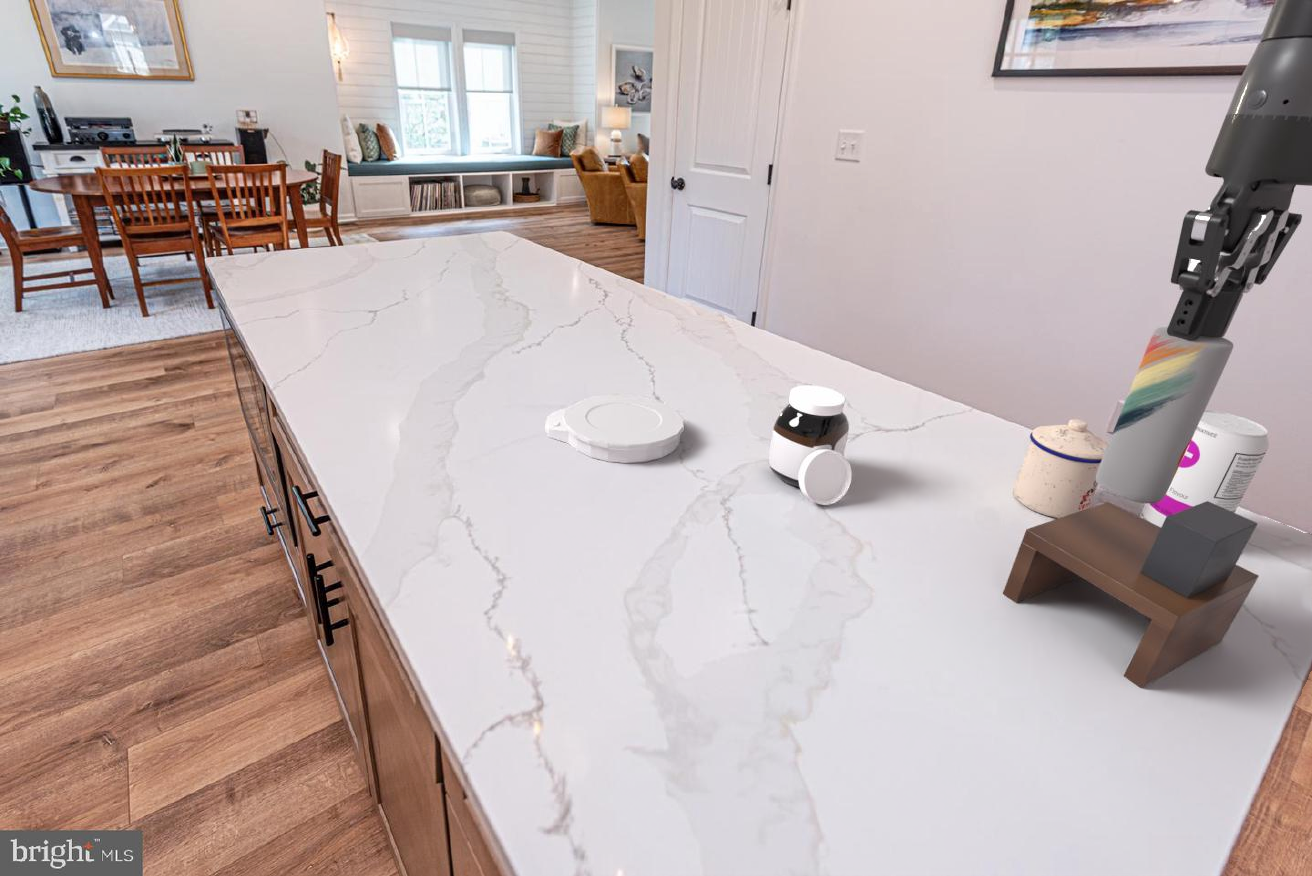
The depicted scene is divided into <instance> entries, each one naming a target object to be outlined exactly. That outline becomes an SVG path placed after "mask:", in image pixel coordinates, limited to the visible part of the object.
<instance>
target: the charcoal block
mask: <svg viewBox="0 0 1312 876" xmlns="http://www.w3.org/2000/svg"><path fill="white" fill-rule="evenodd" d="M1257 526H1258V522H1257V521H1254V520H1251V519H1249V518H1247V517H1245V516H1242V515H1240V514H1238V513H1236V512H1235V513H1233V512H1231V511H1229V510H1227V509H1224V508H1222V507H1220V506H1218V505H1215V504H1213V503H1211V502H1208V501H1206V502H1204V503H1201V504H1198V505H1196V506H1193V507H1191V508H1188V509H1185V510H1183V511H1180V512H1178V513H1175V514H1172V515H1170V516H1167V517H1166V519H1165V521H1164V523H1163V525H1162V527H1161V529H1160V531H1159V534H1158V536H1157V538H1156V540H1155V542H1154V544H1153V546H1152V548H1151V551H1150V553H1149V555H1148V557H1147V559H1146V561H1145V563H1144V565H1143V568H1142V570H1141V573H1142V574H1144V575H1146V576H1148V577H1149V578H1151V579H1153V580H1155V581H1157V582H1158V583H1160V584H1162V585H1164V586H1166V587H1168V588H1169V589H1171V590H1173V591H1175V592H1177V593H1178V594H1180V595H1182V596H1184V597H1186V598H1190V597H1192V596H1194V595H1196V594H1198V593H1200V592H1202V591H1204V590H1206V589H1208V588H1210V587H1212V586H1214V585H1216V584H1218V583H1220V582H1222V581H1224V580H1226V579H1228V578H1229V576H1230V574H1231V572H1232V570H1233V568H1234V567H1235V565H1237V563H1238V562H1239V559H1240V557H1241V555H1242V553H1243V552H1244V550H1245V548H1246V546H1247V545H1248V543H1249V540H1250V539H1251V537H1252V535H1253V534H1254V532H1255V530H1256V528H1257Z"/></svg>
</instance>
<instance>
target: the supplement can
mask: <svg viewBox="0 0 1312 876" xmlns="http://www.w3.org/2000/svg"><path fill="white" fill-rule="evenodd" d="M1268 433H1269V430H1268V429H1267V428H1266V427H1265V426H1263V425H1261V424H1260V423H1258V422H1256V421H1253V420H1252V419H1249V418H1246V417H1242V416H1239V415H1236V414H1232V413H1228V412H1224V411H1218V410H1211V409H1210V410H1209V409H1205V411H1204V413H1203V415H1202V418H1201V420H1200V422H1199V424H1198V426H1197V428H1196V431H1195V433H1194V435H1193V437H1192V439H1191V441H1190V444H1189V446H1188V448H1187V450H1186V452H1185V454H1184V457H1183V459H1182V461H1181V463H1180V465H1179V467H1178V470H1177V472H1176V474H1175V476H1174V478H1173V480H1172V483H1171V485H1170V487H1169V489H1168V491H1167V493H1166V495H1165V496H1164V498H1163V499H1162V500H1161V501H1160V502H1157V503H1144V506H1143V508H1142V510H1141V512H1140V515H1139V517H1140V518H1142V519H1144V520H1147V521H1149V522H1151V523H1153V524H1155V525H1157V526H1159V527H1162V525H1163V523H1164V521H1165V519H1166V517H1167V516H1170V515H1172V514H1175V513H1178V512H1180V511H1183V510H1185V509H1188V508H1191V507H1193V506H1196V505H1198V504H1201V503H1204V502H1206V501H1208V502H1211V503H1213V504H1215V505H1218V506H1220V507H1222V508H1224V509H1227V510H1229V511H1231V512H1233V513H1236V511H1237V509H1238V507H1239V505H1240V503H1241V502H1242V499H1243V498H1244V496H1245V493H1246V491H1247V490H1248V488H1249V485H1250V484H1251V482H1252V480H1253V479H1254V476H1255V474H1256V472H1257V471H1258V469H1259V467H1260V465H1261V463H1262V461H1263V460H1264V457H1265V456H1266V453H1267V452H1268V449H1269V446H1270V443H1269V439H1268Z"/></svg>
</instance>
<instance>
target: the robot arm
mask: <svg viewBox="0 0 1312 876" xmlns="http://www.w3.org/2000/svg"><path fill="white" fill-rule="evenodd" d="M1204 171H1205V174H1206V175H1207V176H1209V177H1213V178H1218V179H1219V178H1220V179H1221V178H1222V180H1223V182H1222V184H1221V185H1220V188H1219V189H1218V191H1217V192H1216V194H1215V195H1214V197H1213V199H1212V201H1211V202H1210V205H1209V207H1208V209H1206V210H1205V211H1203V210H1196V209H1195V210H1194V209H1190V210H1188V211H1187V212H1186V214H1185V215H1184V217H1183V220H1182V224H1181V230H1180V234H1179V238H1178V244H1177V247H1176V248H1177V249H1176V253H1175V258H1174V263H1173V267H1172V271H1171V277H1170V283H1171V284H1173V285H1178V286H1179V287H1178V288H1179V290H1180V291H1182V292H1181V294H1180V297H1179V299H1178V301H1177V304H1176V306H1175V309H1174V311H1173V314H1172V317H1171V318H1170V321H1169V323H1168V325H1167V327H1168V328H1167V333H1168V335H1169V336H1174V337H1178V338H1181V339H1185V340H1187V341H1192V340H1196V339H1198V338H1199V337H1200V335H1201V332H1202V330H1203V328H1204V326H1205V323H1206V321H1207V319H1208V316H1209V314H1210V312H1211V309H1212V307H1213V305H1214V302H1215V300H1216V297H1215V296H1216V295H1217V294H1218V293H1219V292H1220V290H1221V288H1222V286H1223V284H1224V282H1225V281H1226V279H1229V280H1231V281H1234V282H1236V283H1237V284H1239V285H1243V286H1245V290H1244V292H1243V295H1242V297H1241V299H1240V302H1239V304H1238V306H1237V309H1238V307H1239V305H1240V303H1241V301H1242V298H1243V297H1244V294H1248V293H1249V292H1251V290H1252V289H1253V288H1254V285H1258V286H1260V285H1262V284H1263V283H1264V282H1265V281H1266V279H1267V278H1268V276H1269V275H1270V273H1271V271H1272V269H1273V267H1274V266H1275V265H1276V263H1277V261H1278V260H1279V258H1280V257H1281V254H1282V253H1283V252H1284V250H1285V248H1286V246H1287V245H1288V244H1289V241H1290V240H1291V239H1292V237H1293V235H1294V234H1295V232H1296V230H1297V229H1298V227H1299V226H1300V224H1301V223H1302V219H1303V214H1301V213H1294V212H1291V211H1290V212H1289V208H1290V207H1291V202H1292V199H1293V195H1294V191H1295V188H1296V187H1297V186H1309V187H1311V186H1312V0H1275V1H1274V3H1273V5H1272V8H1271V10H1270V13H1269V16H1268V18H1267V21H1266V23H1265V25H1264V28H1263V31H1262V33H1261V36H1260V38H1259V42H1258V44H1257V46H1256V48H1255V50H1254V52H1253V54H1252V56H1251V57H1250V60H1249V61H1248V63H1247V65H1246V67H1245V69H1244V71H1243V73H1242V75H1241V77H1240V79H1239V81H1238V84H1237V86H1236V89H1235V91H1234V94H1233V96H1232V99H1231V102H1230V103H1229V107H1228V109H1227V112H1226V114H1225V117H1224V119H1223V122H1222V124H1221V127H1220V130H1219V133H1218V135H1217V137H1216V140H1215V142H1214V145H1213V147H1212V150H1211V152H1210V155H1209V158H1208V160H1207V162H1206V166H1205V168H1204ZM1237 309H1236V311H1235V313H1234V315H1233V318H1234V316H1235V314H1236V312H1237ZM1233 318H1232V320H1231V322H1230V324H1231V323H1232V321H1233ZM1229 328H1230V326H1229V327H1228V329H1229ZM1228 329H1227V331H1226V333H1227V332H1228Z"/></svg>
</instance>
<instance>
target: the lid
mask: <svg viewBox="0 0 1312 876" xmlns="http://www.w3.org/2000/svg"><path fill="white" fill-rule="evenodd" d="M684 428H685V419H684V417H683V415H682V414H681V413H680V412H679V410H677V409H675V407H673V406H672V405H670V404H668V403H665V402H663V401H660V400H658V399H655V398H650V397H645V396H641V395H635V394H621V393H620V394H618V393H617V394H600V395H595V396H589V397H586V398H584V399H583V398H582V399H581V400H578V401H576V402H573V404H571V405H570V406H566V407H564V408H560V409H558V410H555V411H553V412H552V413H550V414H549V415H548V416H547V417H546V420H545V429H544V430H545V432H546V434H547V436H548V438H550V439H553V440H556V441H559V442H562V443H566V444H569V445H570V446H571V447H572V448H573V449H575V450H576V452H578V453H581V454H582V455H585V456H587V457H589V458H591V459H596V460H600V461H604V462H608V463H618V464H619V463H620V464H633V463H634V464H635V463H646V462H651V461H655V460H658V459H659V460H660V459H662V458H664V457H666V456H667V455H670V454H672V453H673V452H674V451H675V450H676V449H677V447H679V445H680V442H681V441H680V439H681V435H682V433H683V432H684V431H685V430H684Z"/></svg>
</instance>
